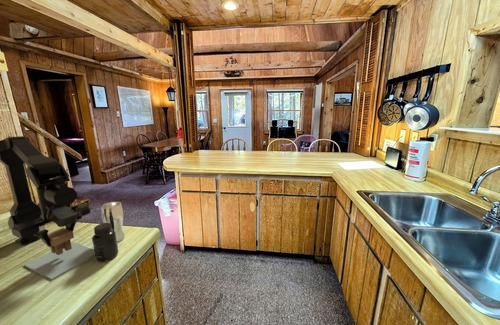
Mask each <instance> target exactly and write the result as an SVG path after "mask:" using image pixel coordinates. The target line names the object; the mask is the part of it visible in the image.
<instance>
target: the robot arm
mask: <svg viewBox="0 0 500 325" xmlns="http://www.w3.org/2000/svg"><path fill="white" fill-rule="evenodd" d="M0 163H1V164H2V165H4V168H5V171H6V176H7V179H8V184H9V186H10V191H11V194H12V199H13V202H14V203H13V205H12V206H11V208H10V209H9V214H10V216H9V217H8V221H7V225H8V226H7V227H8V229H10V230H11V234H12V235H13V237H17V239H15V240H14V241H15V243H18V244H20V245H22V246H25V245H27V244H30V243H33V242H35V241H37V240H41V241H42V242H43V243H44V244H45V245H46V246H47V247H48V248H51V243H50V240H49V237H48V234H49V230H48V229H46V228H45V227H46V226H48V225H50V224H53V223H54V224H56V225H57V226H58V227H60V228H64V227H65V229H68V230H71V231H73V232H74V230H75V226H76V224H77V222H78V221H79V220H81V219H82V218H83V217H84V216H86V215H89V214H91V212H92V211H91V208H90V206H89V205H86V204H82V203H77V204H75V205H72V204H73V203H74V202H75V201H76V200H77V198H78V192H77V191H76V190H75V189H74V188H72V187H70V186H69V185H68V183H67V182H70V181H71V180H70V178H69V177H70V174H69V173H68V172H67V170H66V168H65V167H64V166H63V165H62V163H60V162H59V161H58V160H57V159H55V158H54V157H50V156H45V155H44V154H43V153H42V152H41V151H40V150H39V149H37V147H36V146H35V145H34V144H33V143H32V142H31V141H30V139H29V137H28V136H23V135H22V136H21V135H20V136H8V137H5V138H4V139H0ZM25 165H26V167H25ZM25 168H26V169H25ZM27 177H28V178H29V180H30V181H31V182H32V184H33V186H35V190H36V193H37V198H38V203H36V202H35V201H33V198H32V194H31V190H30V186H29V181H28V178H27ZM70 205H72V206H70Z"/></svg>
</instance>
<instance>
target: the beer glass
mask: <svg viewBox="0 0 500 325" xmlns="http://www.w3.org/2000/svg"><path fill="white" fill-rule="evenodd" d="M123 211H124V210H123V205H122V203H121V201H111V202H106V203H103V205H101V219H102V223H110V224H111V228H112V230H114V231H115V233H116V239H117V243H119V242H122V241H123V240H124V239H125V233H124V228H123V225H124V224H123V223H124V212H123Z"/></svg>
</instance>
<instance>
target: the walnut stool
mask: <svg viewBox="0 0 500 325" xmlns="http://www.w3.org/2000/svg"><path fill="white" fill-rule="evenodd" d="M48 237H49V240H50V243H51V247H50V252H52V253H56V254H57V255H60V254H62V253H63V249H65V250H66V251H68V250H70V249H72V247H71V242H72V241H71V239H75V238H74V230H73V231H71V230H68V229H66V227H65V228H64V227H61V228H59V229H57V230H55V231H52V232H50V233H49V232H48Z"/></svg>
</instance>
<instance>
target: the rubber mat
mask: <svg viewBox="0 0 500 325" xmlns="http://www.w3.org/2000/svg"><path fill="white" fill-rule="evenodd" d="M70 242H71V247H72V249H70V250H68V251H66V250H65V249H63V253H62V254H60V255H57V254H56V253H52V252H51V251H49V252H46V253H45V254H43V255H40V256H38V257H36V258H35V259H32V260H30V261H28V262H26V263H23V267H25V268H27V269H29V270H31V271H32V272H35V273H37V274H38V275H41V276H42V277H45V278H47V279H48V280H50V281H54V280H56V279H58V278H59V277H61V276H62V275H65V274H66V273H68V272H70V271H71V270H73V269H75V268H76V267H78V266H80V265H82V264H83V263H85V262H87V261H88V260H90V259H92V258H94V257H95V253H94V248H91V247H88V246H85V245H82V244H80V243H77V242H74V241H70Z"/></svg>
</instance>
